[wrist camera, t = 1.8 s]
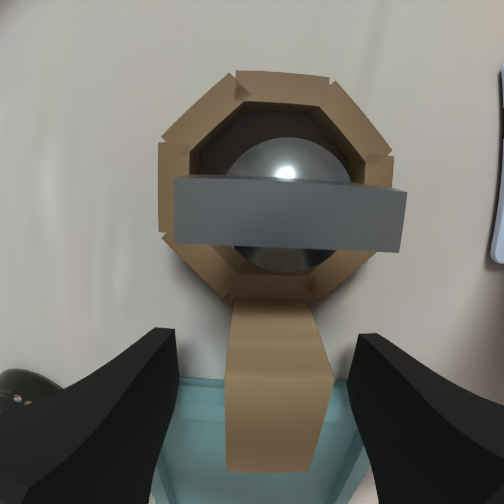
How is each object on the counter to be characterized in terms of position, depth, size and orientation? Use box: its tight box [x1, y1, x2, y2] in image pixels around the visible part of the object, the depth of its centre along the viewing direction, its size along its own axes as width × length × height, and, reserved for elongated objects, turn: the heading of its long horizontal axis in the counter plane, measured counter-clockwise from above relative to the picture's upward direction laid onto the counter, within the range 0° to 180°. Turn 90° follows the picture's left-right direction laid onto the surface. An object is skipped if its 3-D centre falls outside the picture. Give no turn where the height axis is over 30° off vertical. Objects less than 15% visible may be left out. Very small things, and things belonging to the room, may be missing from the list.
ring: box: [158, 70, 394, 473], centre depth 7 cm, size 9×6×5 cm, turn 178°
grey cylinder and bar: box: [174, 137, 407, 272], centre depth 7 cm, size 4×2×5 cm, turn 88°
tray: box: [151, 377, 370, 504], centre depth 13 cm, size 10×14×2 cm
